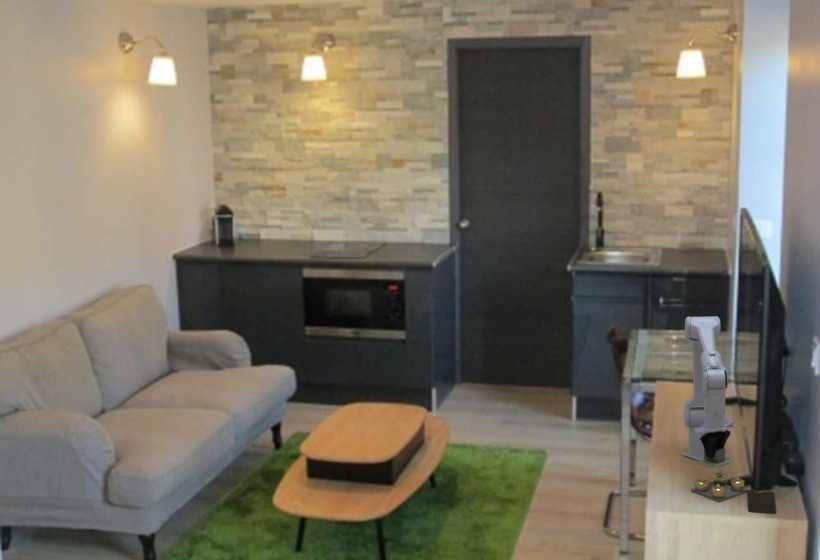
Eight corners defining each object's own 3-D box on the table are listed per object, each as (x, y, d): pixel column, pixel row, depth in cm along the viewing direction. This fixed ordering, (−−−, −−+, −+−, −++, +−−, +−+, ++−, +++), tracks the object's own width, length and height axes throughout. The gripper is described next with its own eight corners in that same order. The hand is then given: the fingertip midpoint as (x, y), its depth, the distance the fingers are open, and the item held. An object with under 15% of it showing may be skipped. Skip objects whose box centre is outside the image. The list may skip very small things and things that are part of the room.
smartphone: (746, 492, 310) (747, 513, 295) (747, 489, 309) (747, 510, 295) (774, 493, 307) (776, 515, 293) (774, 491, 307) (776, 512, 293)
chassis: (719, 480, 317) (720, 467, 316) (747, 491, 309) (748, 478, 308) (691, 491, 310) (691, 478, 310) (718, 502, 302) (719, 488, 301)
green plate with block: (715, 455, 317) (715, 439, 316) (734, 462, 312) (735, 446, 311) (693, 462, 312) (694, 446, 311) (713, 469, 307) (713, 453, 306)
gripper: (707, 419, 302) (707, 465, 305) (743, 408, 310) (742, 453, 312) (688, 413, 308) (688, 458, 310) (723, 402, 315) (722, 447, 318)
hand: (713, 456), depth 312 cm, fingers closed on green plate with block, 3 cm apart
